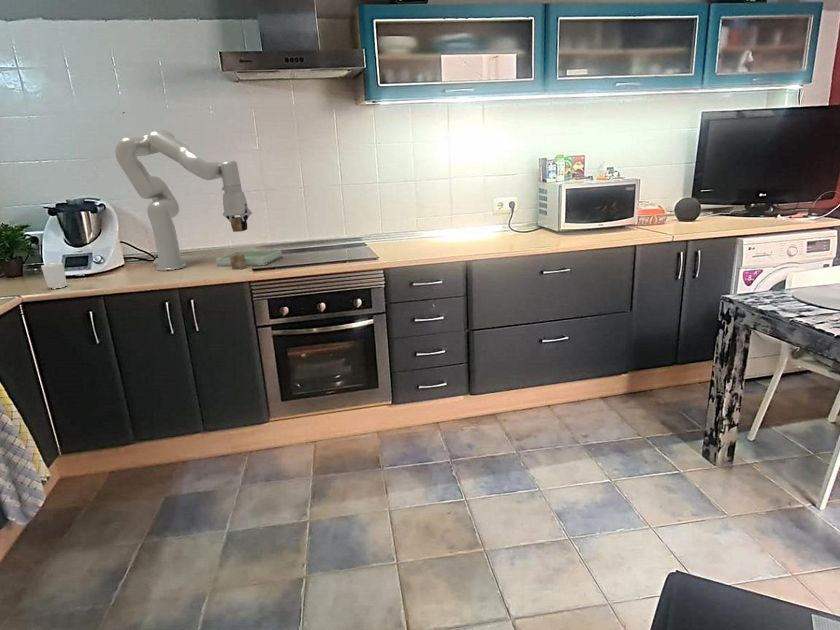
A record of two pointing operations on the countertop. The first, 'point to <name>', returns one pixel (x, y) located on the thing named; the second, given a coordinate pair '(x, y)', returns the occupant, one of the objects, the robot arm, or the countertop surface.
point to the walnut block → (237, 224)
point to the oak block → (238, 261)
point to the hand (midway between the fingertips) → (240, 229)
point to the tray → (251, 257)
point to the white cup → (54, 274)
